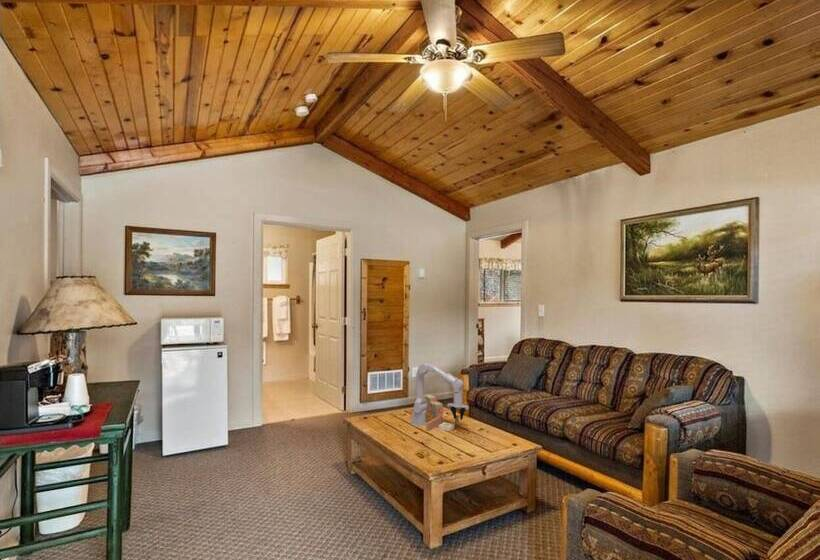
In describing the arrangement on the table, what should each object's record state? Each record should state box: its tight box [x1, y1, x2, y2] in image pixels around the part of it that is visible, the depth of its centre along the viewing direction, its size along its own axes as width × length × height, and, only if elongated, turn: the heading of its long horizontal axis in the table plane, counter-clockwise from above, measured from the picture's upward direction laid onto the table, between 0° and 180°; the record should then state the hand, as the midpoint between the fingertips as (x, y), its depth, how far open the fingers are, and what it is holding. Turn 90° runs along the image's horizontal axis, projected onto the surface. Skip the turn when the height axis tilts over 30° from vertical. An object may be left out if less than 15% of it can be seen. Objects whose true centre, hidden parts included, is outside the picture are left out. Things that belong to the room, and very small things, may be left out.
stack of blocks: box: [424, 393, 444, 418], centre depth 328 cm, size 21×6×12 cm, turn 26°
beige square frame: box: [438, 421, 455, 432], centre depth 289 cm, size 8×8×2 cm
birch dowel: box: [454, 415, 460, 428], centre depth 294 cm, size 2×2×7 cm
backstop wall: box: [426, 415, 443, 432], centre depth 294 cm, size 2×20×5 cm, turn 150°
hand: (458, 418), depth 285 cm, fingers open, 4 cm apart
